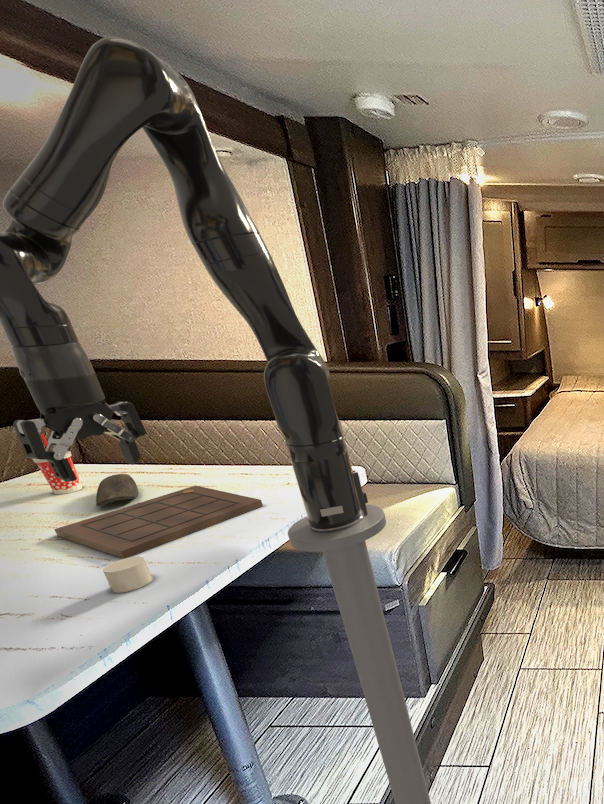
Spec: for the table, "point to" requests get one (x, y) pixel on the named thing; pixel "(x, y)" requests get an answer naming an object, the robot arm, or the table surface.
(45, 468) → the beverage cup
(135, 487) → the decorative stone
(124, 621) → the table surface
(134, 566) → the game stone
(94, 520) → the game board
